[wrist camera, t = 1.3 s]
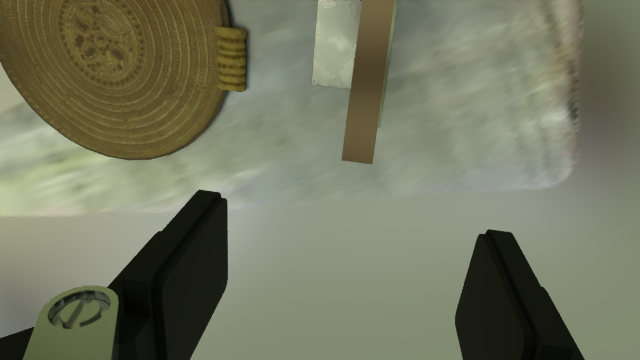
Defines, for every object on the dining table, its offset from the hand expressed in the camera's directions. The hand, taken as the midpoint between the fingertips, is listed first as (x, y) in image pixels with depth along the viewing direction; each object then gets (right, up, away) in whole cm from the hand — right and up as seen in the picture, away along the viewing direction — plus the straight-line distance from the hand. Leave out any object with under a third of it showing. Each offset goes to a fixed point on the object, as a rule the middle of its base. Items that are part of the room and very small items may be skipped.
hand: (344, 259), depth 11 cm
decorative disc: (-23, +18, +35) cm, 46 cm away
